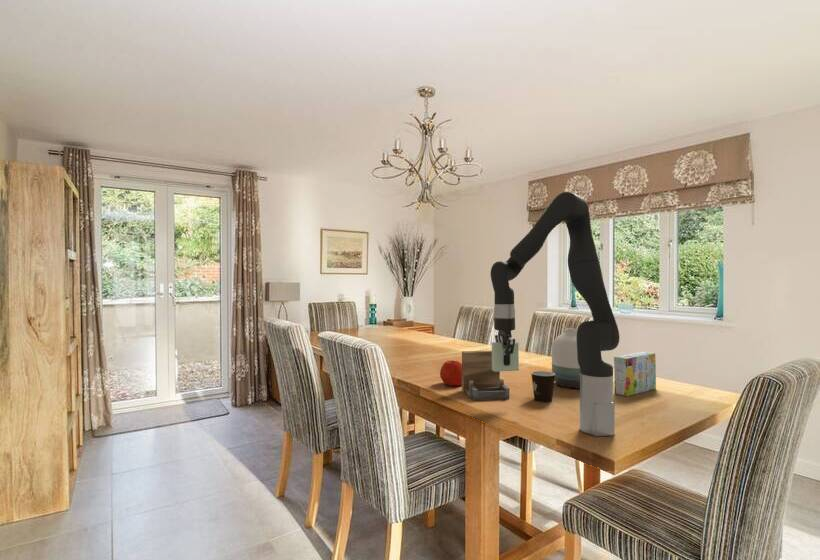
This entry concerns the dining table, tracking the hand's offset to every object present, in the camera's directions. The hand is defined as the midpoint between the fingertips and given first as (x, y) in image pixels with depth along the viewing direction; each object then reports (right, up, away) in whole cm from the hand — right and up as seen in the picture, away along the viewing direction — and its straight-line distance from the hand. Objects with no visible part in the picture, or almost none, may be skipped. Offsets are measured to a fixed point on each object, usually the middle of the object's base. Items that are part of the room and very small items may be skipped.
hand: (504, 364), depth 159 cm
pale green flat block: (0, -2, 0) cm, 2 cm away
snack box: (+57, -15, +19) cm, 62 cm away
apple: (-16, -15, +30) cm, 37 cm away
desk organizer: (-5, -15, +14) cm, 21 cm away
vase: (+35, -15, +29) cm, 48 cm away
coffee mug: (+16, -15, +8) cm, 24 cm away
